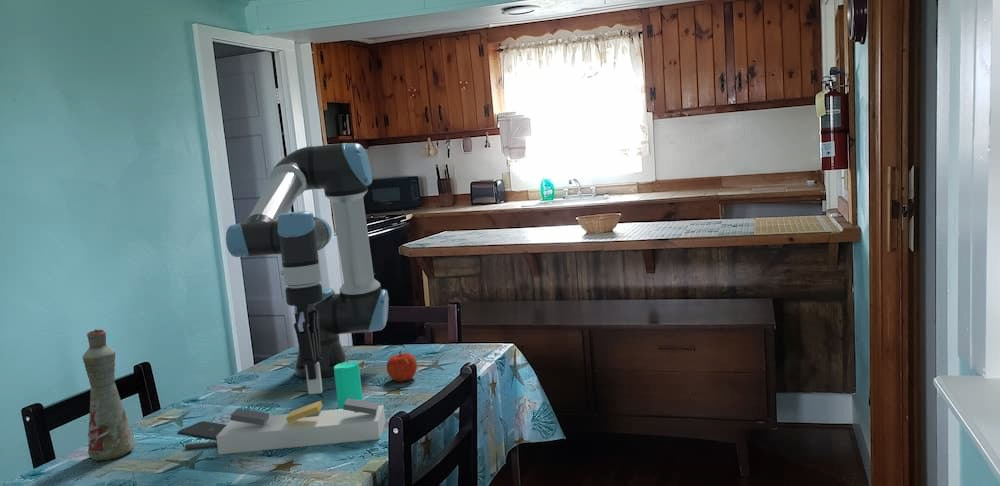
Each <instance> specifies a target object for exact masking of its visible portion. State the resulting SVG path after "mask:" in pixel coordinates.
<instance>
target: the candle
mask: <svg viewBox="0 0 1000 486" xmlns="http://www.w3.org/2000/svg"><path fill="white" fill-rule="evenodd" d="M345 361H346V359H345ZM334 374H335V375H334V382H335V390H336V399H337V407H338V408H337V409H343V408H344V403H345V402H346V400H347V398H350V399H356V400H362V401H364V398H363V388H362V381H361V380H362V379H361V371H360V365H359V363H358V362H357V361H353V362H351V361H348V362H343V363H340V364H337V365H335V366H334Z"/></svg>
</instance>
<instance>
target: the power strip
mask: <svg viewBox="0 0 1000 486" xmlns="http://www.w3.org/2000/svg"><path fill="white" fill-rule="evenodd" d="M288 415H289V413H286V414H285V413H283V414H282V413H281V414H273V415H269V419H268V420H267V421H266V423H265V424H264V425H257V424H251V423H244V422H238V421H232V420H230V421H229V422H228V423H227V424H225V425H226V426H225V427H224V428H223V430H222V431H221V432H220V433H219V434H218V435H217V436H216V438H217V440H215V441H207V442H197V443H187V444H185V445H184V449H186V450H189V449H191V450H192V449H201V448H203V449H204V448H211V447H212V448H213V447H217V451H218V455H226V454H237V453H247V452H249V453H250V452H258V451H260V452H261V451H268V450H269V451H270V450H279V449H280V450H282V449H291V448H299V447H300V448H301V447H311V446H320V445H331V444H333V445H334V444H343V443H353V442H362V441H363V442H364V441H375V440H380V439H381V437H382V434H383V431H384V428H385V424H386V416H385V415H386V414H385V407H384V404H379V406H378V410H377V413H376V415H374V414H367V413H361V412H355V411H349V410H343V409H338V408H336V409H328V410H327V409H326V410H320V411H319V412H317V413H315V414H312V415H309V416H306V417H304V418H301V419H298V420H295V421H292V422H290V423H288V422H287V419H286V417H287V416H288Z"/></svg>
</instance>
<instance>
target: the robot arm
mask: <svg viewBox="0 0 1000 486" xmlns="http://www.w3.org/2000/svg"><path fill="white" fill-rule="evenodd" d="M367 153H368V152H366V149H365V148H364V147H363V145H361V144H360V143H357V142H355V143H353V142H351V143H349V142H348V143H346V142H344V143H334V144H325V145H315V146H311V145H310V146H304V147H301V148H299V149H296V150H295V151H292V152H291V153H289V154H287V155H286V156H285V157H284V158H282V159H280V161H278V163H276V164H275V166H274V167H273V169H272V171H271V172H270V174H269V177H268V178H269V183H268V184H267V186H266V187H265V189H264V191H263V192H262V194H261V196H260V198H259V199H258V201H257V203H256V204H255V206H254V207H253V208H252V210H251V212H250V214H249V215H248V217H247V219H246V220H245V222H244V223H241V222H239V223H235V224H231V225H229V226H228V228H227V229H226V233H225V244H226V247H227V251H228V252H229V254H230V255H231V256H232V257H235V258H251V257H262V256H271V255H280V257H281V264H282V270H281V271H280V274H281V276H283V281H284V285H285V286H286V288H285V291H284V292H285V300H286V305H288V306H291V307H293V310H294V313H293V315H294V319H295V320H294V321H295V322H294V324H293V328H294V330H295V333H296V338H297V344H298V350H297V356H296V360H295V364H294V365H295V366H294V371H295V373H294V374H295V376H296V377H298V378H301V379H306V385H307V393H308V395H314V394H315V395H316V394H322V393H323V383H322V378H326V377H327V378H328V377H331V376H335V374H334V366H335V365H337V364H340V363H343V362H349V359H348V356H347V354H346V352H345V350H344V348H343V346H342V344H341V340H340V335H345V334H356V333H359V334H361V333H371V332H377V331H378V332H379V331H382V330H383V329H385V327H386V325H387V323H388V322H387V321H388V317H389V315H388V314H389V293H388V290H387V289H385V288H383V289H382V287H381V286H382V285H381V282H379V281H378V280H377V279H375V277H374V276H375V275H374V268H373V261H372V259H373V258H372V253H371V247H370V238H369V231H368V225H367V224H368V223H367V216H366V210H365V209H366V208H365V203H364V197H365V195H366V194H367V193H368V191H369V190H368V189H369V188H368V186H370V185H371V184H373V183H372V182H373V175H372V172H373V171H372V166H371V162H370V159H369V156H368V154H367ZM311 190H324V197H326V198H327V199H329V200H330V202H331V207H332V213H333V220H334V225H335V226H334V227H335V232H336V239H337V245H338V247H337V248H338V252H339V259H340V265H341V272H342V274H341V275H342V278H343V279H342V280H343V284H342V285H341V286H340V287H339V293H336V291H335V290H334V288H323V286H322V284H321V283H319V282H321V281H322V275H321V269H320V268H321V267H320V266H321V265H320V261H319V251H321V250H323V249H324V248H325V247H326V246H327V245H328V244H329V242H330V241H331V239H332V228H331V225H330V224H329V223H328V222H327V221H326V220H325V219H323V218H322V217H320V216H319V217H317V216H314V214H313V212H312V211H310V210H309V211H308V210H301V211H291V212H290V210H291V209H292V207H293V205H294V203H295V201H296V200H297V198H298V197H300V196H301V195H302V194H304V193H305V192H306V191H311ZM345 359H346V361H345Z"/></svg>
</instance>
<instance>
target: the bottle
mask: <svg viewBox="0 0 1000 486" xmlns="http://www.w3.org/2000/svg"><path fill="white" fill-rule="evenodd" d="M86 336H87V340H88V345H89V347H88V348H87V350H86V351H85V352H84V354H82V361H83V364H84V367H85V371H86V375H87V378H88V382H89V386H90V396H89V398H90V399H89V420H88V432H87V438H88V449H87V454H88V456H89V458H91V460H94V461H109V460H110V461H111V460H115V459H118V458H120V457H123V456H125V455H127V454H128V453H129V452H131V451H133V449H134V448H135V447H136V442H135V439H134V435H133V432H132V429H131V425H130V423H129V419H128V417H127V414H126V411H125V408H124V405H123V403H122V400H121V397H120V394H119V391H118V388H117V385H116V383H115V379H116V375H115V373H116V372H115V371H116V369H115V367H116V360H115V359H116V351H115V350H114V349H113V348H112V347H110V346H109V345H108V344H107V343H106V342H107V338H106V337H107V334H106V331H105V330H104V329H98V328H95V329H94V330H92V331H89V332H87V334H86Z"/></svg>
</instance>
